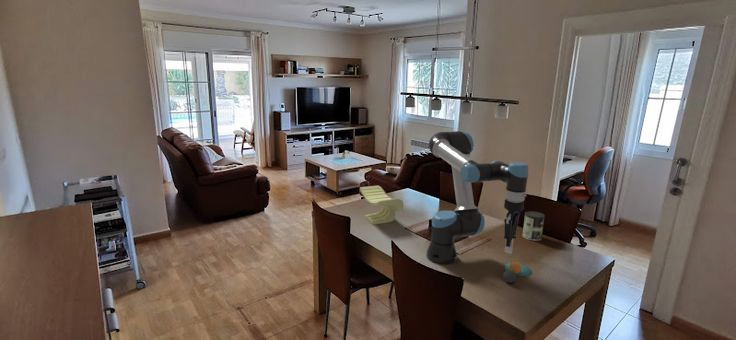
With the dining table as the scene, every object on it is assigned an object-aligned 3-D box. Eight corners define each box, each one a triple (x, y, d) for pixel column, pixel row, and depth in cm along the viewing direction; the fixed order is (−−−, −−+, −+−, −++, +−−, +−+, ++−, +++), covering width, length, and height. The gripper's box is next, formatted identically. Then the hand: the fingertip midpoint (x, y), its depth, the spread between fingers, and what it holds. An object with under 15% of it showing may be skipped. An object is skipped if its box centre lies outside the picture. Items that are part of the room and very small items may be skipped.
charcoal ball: (514, 266, 165) (513, 275, 167) (501, 268, 165) (501, 277, 167) (519, 275, 160) (518, 284, 162) (506, 276, 160) (505, 286, 162)
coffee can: (542, 236, 214) (546, 213, 210) (540, 242, 205) (543, 218, 202) (523, 232, 219) (526, 209, 215) (520, 238, 210) (523, 214, 207)
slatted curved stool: (402, 226, 224) (403, 198, 220) (378, 229, 218) (379, 201, 214) (381, 209, 251) (381, 184, 247) (359, 212, 245) (360, 187, 240)
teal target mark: (512, 276, 169) (512, 276, 169) (500, 263, 180) (500, 263, 180) (536, 275, 170) (536, 275, 170) (523, 262, 182) (523, 262, 182)
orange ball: (513, 264, 168) (517, 258, 171) (504, 268, 171) (508, 262, 175) (522, 274, 167) (525, 267, 171) (513, 278, 171) (516, 271, 174)
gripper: (519, 206, 143) (512, 260, 149) (528, 198, 153) (521, 249, 159) (499, 201, 148) (493, 255, 154) (510, 194, 158) (504, 244, 164)
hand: (508, 252), depth 156 cm, fingers closed
